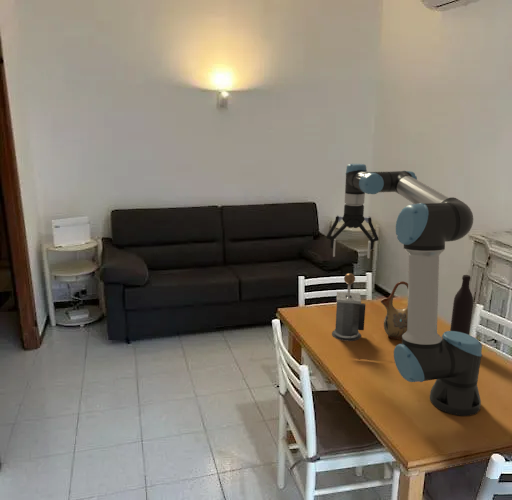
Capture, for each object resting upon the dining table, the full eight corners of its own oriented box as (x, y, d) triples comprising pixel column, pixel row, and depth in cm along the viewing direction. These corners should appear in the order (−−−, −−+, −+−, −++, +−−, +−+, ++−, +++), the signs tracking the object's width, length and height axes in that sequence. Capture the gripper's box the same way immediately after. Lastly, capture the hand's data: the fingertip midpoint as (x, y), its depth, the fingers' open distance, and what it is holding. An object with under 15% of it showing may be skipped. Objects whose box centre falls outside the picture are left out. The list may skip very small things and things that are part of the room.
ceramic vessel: (413, 333, 209) (419, 277, 202) (420, 343, 200) (426, 285, 194) (375, 333, 209) (379, 277, 202) (380, 343, 200) (385, 284, 194)
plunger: (354, 332, 201) (358, 276, 195) (338, 331, 202) (341, 275, 196) (354, 325, 208) (358, 271, 201) (338, 324, 209) (341, 270, 202)
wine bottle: (467, 345, 199) (476, 274, 191) (466, 352, 193) (476, 279, 185) (449, 341, 202) (457, 272, 194) (447, 349, 196) (456, 277, 188)
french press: (363, 341, 200) (366, 301, 196) (334, 338, 202) (336, 300, 197) (362, 331, 210) (365, 293, 205) (334, 328, 211) (336, 291, 207)
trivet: (361, 343, 199) (361, 342, 199) (331, 341, 201) (331, 339, 201) (360, 331, 211) (360, 329, 211) (332, 329, 213) (332, 327, 212)
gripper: (386, 203, 193) (382, 255, 198) (322, 201, 197) (320, 252, 202) (388, 206, 186) (383, 260, 191) (321, 204, 190) (319, 257, 195)
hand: (351, 256), depth 197 cm, fingers open, 13 cm apart
